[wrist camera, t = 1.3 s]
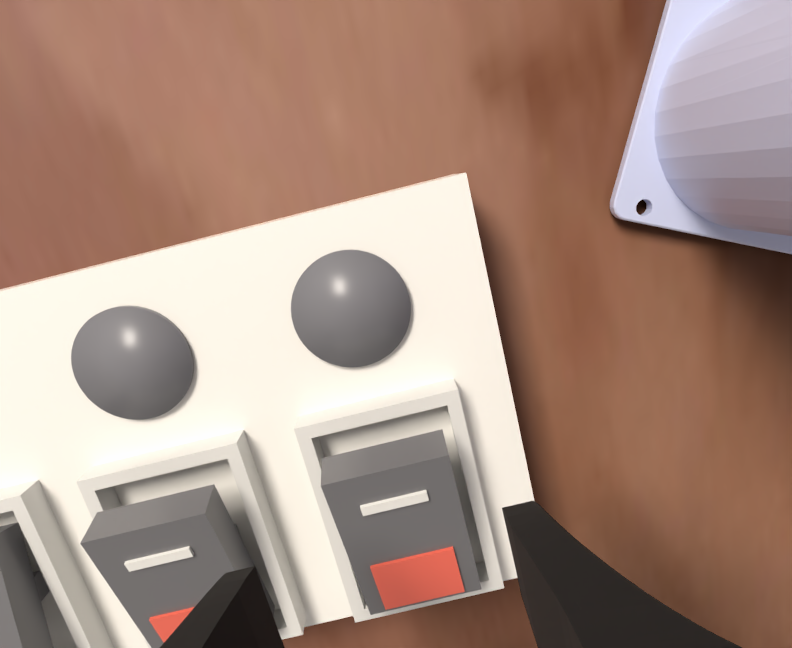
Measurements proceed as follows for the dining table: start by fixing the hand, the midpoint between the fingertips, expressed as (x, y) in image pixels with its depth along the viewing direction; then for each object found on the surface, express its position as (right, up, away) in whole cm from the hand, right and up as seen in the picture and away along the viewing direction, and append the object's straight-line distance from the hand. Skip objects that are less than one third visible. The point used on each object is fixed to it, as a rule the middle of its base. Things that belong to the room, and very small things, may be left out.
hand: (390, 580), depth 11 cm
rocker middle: (-6, -2, +5) cm, 8 cm away
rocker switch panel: (-7, +1, +9) cm, 11 cm away
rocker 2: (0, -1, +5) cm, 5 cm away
